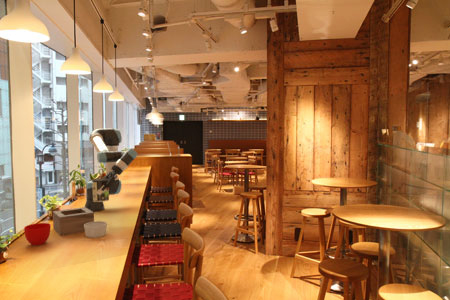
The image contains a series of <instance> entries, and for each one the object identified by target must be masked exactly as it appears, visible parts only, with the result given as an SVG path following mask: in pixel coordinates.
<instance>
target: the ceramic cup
mask: <svg viewBox="0 0 450 300" xmlns="http://www.w3.org/2000/svg"><path fill="white" fill-rule="evenodd" d="M51 226H52V225H51V224H50V223H47V222H38V223H32V224H28V225H26V226H24V228H23V229H24V230H23V231H24V237H25V239H26V241H27V242H28V243H29V244H30V245H31V246H41V245H45V243H46V242H47V241H48V240H49V237H50V235H51Z"/></svg>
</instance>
